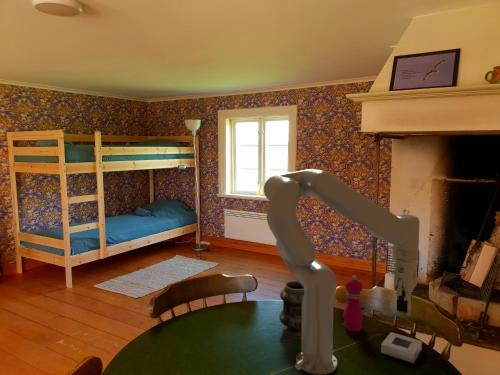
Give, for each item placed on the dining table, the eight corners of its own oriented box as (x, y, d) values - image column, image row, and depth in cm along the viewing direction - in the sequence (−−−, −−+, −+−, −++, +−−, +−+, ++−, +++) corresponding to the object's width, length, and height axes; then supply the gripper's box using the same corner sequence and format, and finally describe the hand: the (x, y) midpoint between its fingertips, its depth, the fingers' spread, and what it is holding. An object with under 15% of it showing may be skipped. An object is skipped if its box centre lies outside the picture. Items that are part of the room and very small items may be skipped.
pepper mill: (365, 332, 135) (367, 278, 133) (345, 332, 135) (346, 278, 133) (360, 323, 142) (361, 272, 140) (340, 323, 142) (342, 272, 140)
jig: (413, 363, 115) (413, 354, 115) (381, 352, 121) (381, 344, 121) (421, 349, 123) (421, 341, 123) (390, 340, 129) (390, 332, 129)
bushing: (408, 317, 118) (409, 293, 117) (395, 314, 121) (396, 290, 120) (411, 312, 121) (412, 289, 120) (399, 309, 124) (399, 286, 123)
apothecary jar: (302, 344, 126) (302, 293, 125) (272, 334, 134) (272, 285, 132) (318, 330, 136) (319, 283, 134) (290, 321, 143) (290, 276, 141)
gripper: (411, 262, 110) (409, 321, 112) (424, 249, 123) (422, 302, 125) (385, 258, 115) (383, 315, 116) (400, 246, 128) (399, 297, 130)
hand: (404, 308), depth 121 cm, fingers closed on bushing, 4 cm apart
